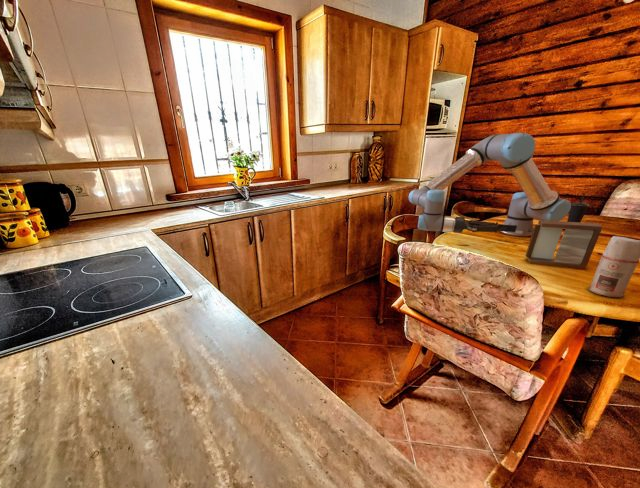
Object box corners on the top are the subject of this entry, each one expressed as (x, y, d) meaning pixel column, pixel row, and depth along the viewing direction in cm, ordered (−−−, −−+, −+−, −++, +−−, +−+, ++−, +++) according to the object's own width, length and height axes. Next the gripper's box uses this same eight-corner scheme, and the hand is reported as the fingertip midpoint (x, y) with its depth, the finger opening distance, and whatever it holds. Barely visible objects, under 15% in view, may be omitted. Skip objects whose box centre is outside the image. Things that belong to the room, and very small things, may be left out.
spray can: (580, 287, 100) (602, 234, 92) (601, 286, 100) (625, 233, 92) (607, 299, 92) (634, 242, 84) (630, 297, 92) (658, 240, 84)
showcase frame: (526, 259, 124) (538, 220, 117) (580, 264, 117) (596, 223, 110) (529, 263, 120) (542, 223, 113) (585, 269, 113) (603, 226, 106)
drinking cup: (573, 225, 165) (585, 191, 157) (584, 229, 158) (598, 194, 150) (559, 226, 166) (570, 192, 158) (569, 229, 159) (582, 194, 151)
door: (525, 255, 124) (535, 224, 118) (551, 258, 120) (562, 226, 114) (526, 257, 122) (536, 225, 117) (552, 259, 119) (564, 227, 113)
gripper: (451, 228, 137) (510, 232, 127) (452, 236, 127) (516, 241, 117) (454, 213, 135) (514, 216, 125) (456, 220, 124) (521, 224, 114)
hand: (515, 228), depth 121 cm, fingers closed
